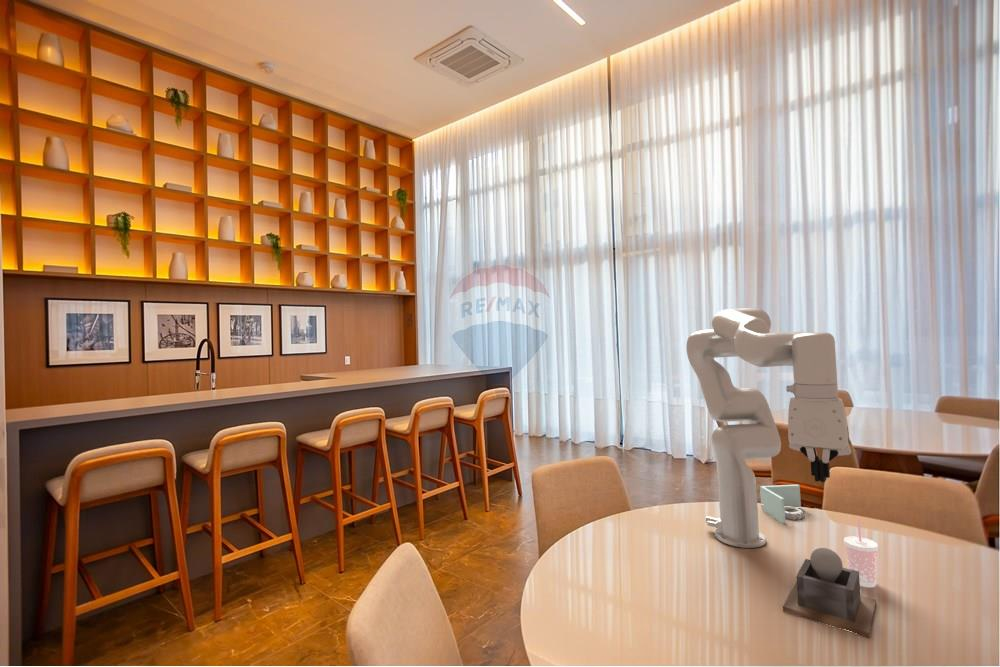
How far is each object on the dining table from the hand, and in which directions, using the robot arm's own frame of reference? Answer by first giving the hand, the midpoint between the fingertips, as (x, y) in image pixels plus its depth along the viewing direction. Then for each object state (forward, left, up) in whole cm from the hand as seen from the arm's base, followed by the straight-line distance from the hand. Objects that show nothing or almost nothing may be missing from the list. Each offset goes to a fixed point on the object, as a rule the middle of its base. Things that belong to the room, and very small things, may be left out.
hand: (820, 479), depth 97 cm
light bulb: (0, 0, -25) cm, 25 cm away
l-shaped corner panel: (-17, +50, -27) cm, 59 cm away
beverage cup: (+4, +16, -27) cm, 31 cm away
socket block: (0, 0, -26) cm, 26 cm away
